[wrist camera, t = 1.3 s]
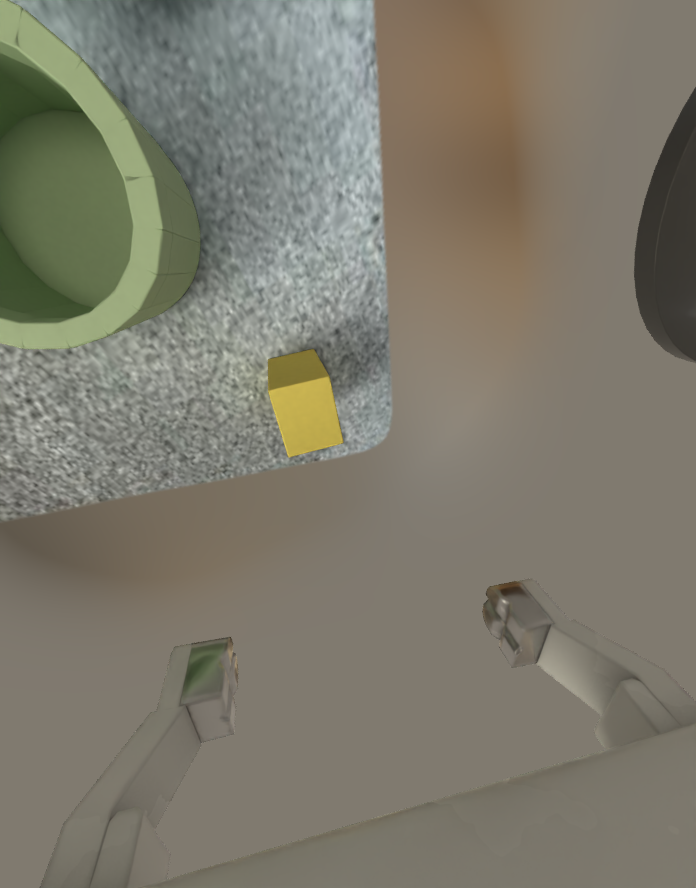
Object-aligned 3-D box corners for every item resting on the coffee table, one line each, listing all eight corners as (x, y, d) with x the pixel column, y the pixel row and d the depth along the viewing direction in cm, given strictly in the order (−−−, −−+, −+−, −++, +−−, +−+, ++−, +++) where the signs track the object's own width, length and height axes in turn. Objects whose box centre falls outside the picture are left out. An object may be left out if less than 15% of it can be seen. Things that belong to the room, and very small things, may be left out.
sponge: (313, 348, 24) (329, 375, 18) (325, 402, 26) (343, 443, 20) (267, 359, 24) (267, 390, 18) (283, 412, 26) (288, 458, 20)
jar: (215, 158, 19) (181, 86, 11) (185, 342, 22) (144, 379, 15) (-21, 51, 16) (-287, -148, 8) (-11, 286, 19) (-188, 297, 12)
